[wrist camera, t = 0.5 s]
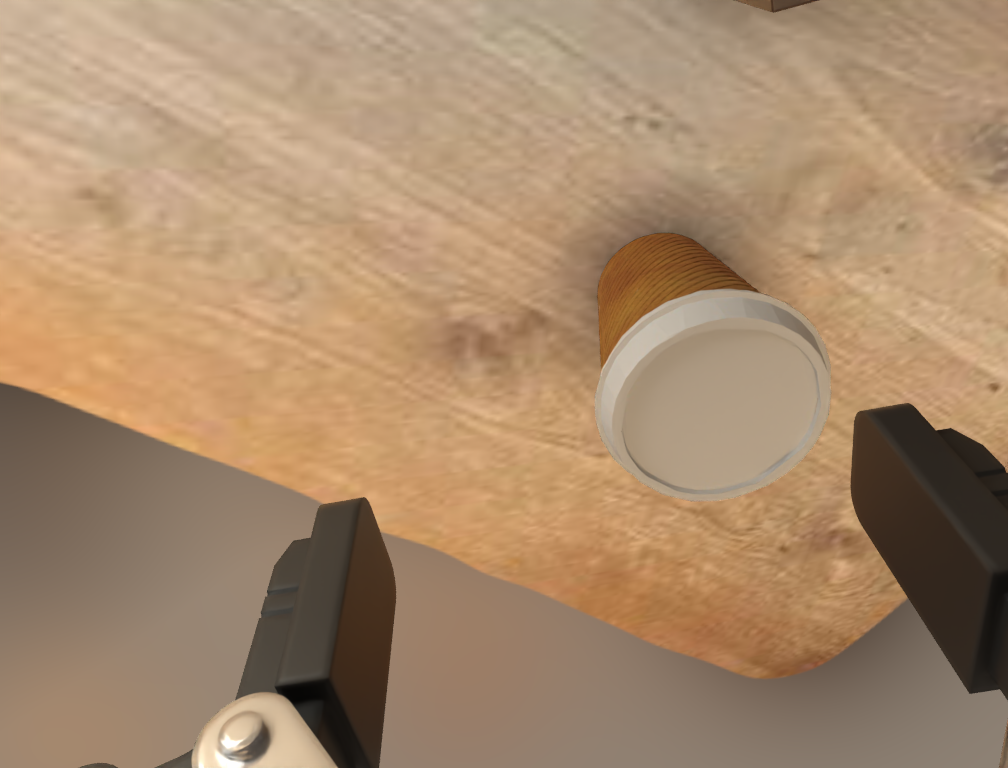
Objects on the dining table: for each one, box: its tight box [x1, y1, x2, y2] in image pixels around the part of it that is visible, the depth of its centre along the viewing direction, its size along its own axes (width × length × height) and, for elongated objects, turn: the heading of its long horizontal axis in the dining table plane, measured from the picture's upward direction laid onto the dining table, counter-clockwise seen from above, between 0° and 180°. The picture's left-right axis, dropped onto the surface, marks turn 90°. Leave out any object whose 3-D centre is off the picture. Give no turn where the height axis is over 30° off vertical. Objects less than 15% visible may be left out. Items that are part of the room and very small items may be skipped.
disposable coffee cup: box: [595, 233, 831, 501], centre depth 36 cm, size 10×10×12 cm
